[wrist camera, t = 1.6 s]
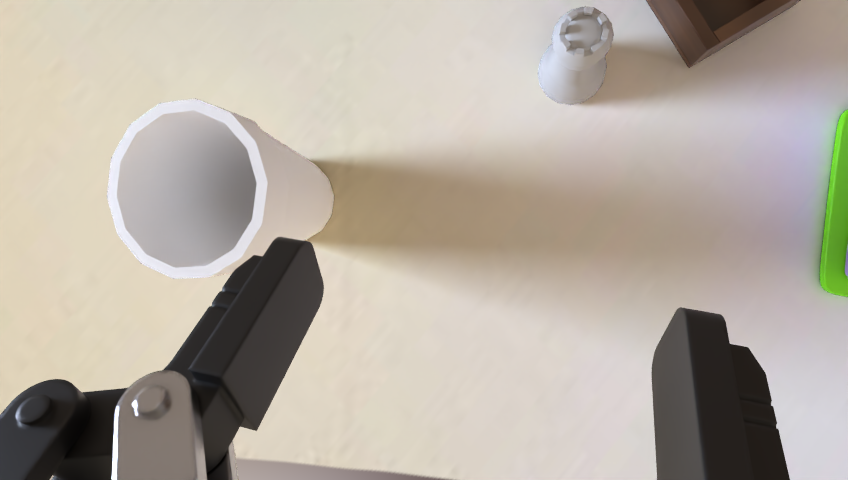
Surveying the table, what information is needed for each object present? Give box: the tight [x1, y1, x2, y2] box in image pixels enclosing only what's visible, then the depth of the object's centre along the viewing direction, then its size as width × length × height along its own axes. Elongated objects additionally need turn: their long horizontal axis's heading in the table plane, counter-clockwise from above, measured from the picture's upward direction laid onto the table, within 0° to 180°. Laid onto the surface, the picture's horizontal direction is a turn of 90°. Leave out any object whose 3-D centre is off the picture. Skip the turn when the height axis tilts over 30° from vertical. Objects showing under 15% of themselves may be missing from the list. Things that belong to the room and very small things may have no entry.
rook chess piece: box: [538, 6, 614, 105], centre depth 30 cm, size 4×4×8 cm
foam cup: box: [107, 98, 334, 279], centre depth 32 cm, size 10×9×13 cm
